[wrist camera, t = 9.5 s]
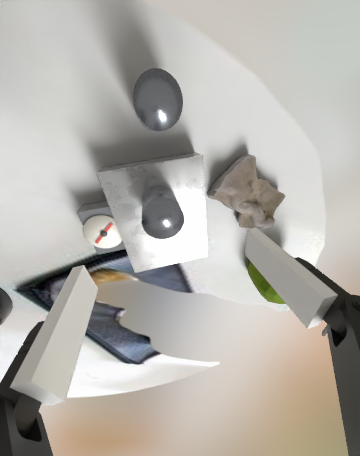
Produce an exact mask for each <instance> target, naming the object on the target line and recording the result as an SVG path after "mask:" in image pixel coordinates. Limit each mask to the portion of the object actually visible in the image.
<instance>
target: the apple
mask: <svg viewBox="0 0 360 456" xmlns="http://www.w3.org/2000/svg"><path fill="white" fill-rule="evenodd" d="M248 274H249V276H250V278H251V280H252V281H253V283H254V285H255V286H256V288H257V289H258V291H259V292H260V294H261V295H262V296H263V297H264V298H265V299H266V300H267V301H268V302H273V303H278V304H286V303H285V302H284V300H283V299H282V298H281V297H280V296H279V295H278V293H277V292H276V291H275V290H274V289H273V287H272V286H271V285H270V284H269V283H268V281H267V280H266V279H265V278H264V277H263V275H262V274H261V273H260V272H259V271H258V270H257V268H256V267H255V266H254V265H253V264H252V262H250V264H249V267H248Z"/></svg>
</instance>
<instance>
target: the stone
mask: <svg viewBox="0 0 360 456" xmlns="http://www.w3.org/2000/svg"><path fill="white" fill-rule="evenodd" d="M208 197H209V198H211V199H216V200H218V201H221V202H222V203H223V204H224V205H225V206H227V207H228V208H231V209H234V210H235V211H237V212H239V216H238V220H237V221H238V223H239V226H240V227H245V228H255V227H257V228H269V227H271V226H272V225H273V224H274V221H275V220H274V218H273V215H274V212H275V210H276V209H277V207H278V206H279V205H280V204H281V202H282V201H283V199H284V198H285V195H284V194H283V193H281V192H279V191H277V189H275V188H274V187H272V186H271V185H270V184H269V182H268V181H267V180H265V179H260V178H258V177H257V173H256V158H255V157H254V156H252V155H249V154H247V155H245V156H243V157H241V158H239V159H237V160H236V161H235V162H234V163H233V164H232V165H231V166H230V167H229V168H228V169H227V171H225V172H224V173H223V174H222V175H221V176H220V177H219V178H218V179H217V180H216V181H215V183H214V184H213V185H212V187H211V189H210V191H209V192H208Z"/></svg>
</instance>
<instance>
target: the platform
mask: <svg viewBox="0 0 360 456" xmlns="http://www.w3.org/2000/svg"><path fill="white" fill-rule="evenodd" d="M97 176H98V179H99V181H100V184H101V186H102V189H103V191H104V194H105V197H106V199H107V202H108V204H109V207H110V209H111V212H112V215H113V217H114V220H115V222H116V225H117V228H118V230H119V233H120V235H121V238H122V240H123V243H124V246H125V248H126V251H127V253H128V256H129V259H130V261H131V264H132V266H133V269H134V271H135V273H137V272H141V271H145V270H150V269H154V268H158V267H162V266H167V265H171V264H175V263H180V262H184V261H188V260H192V259H197V258H201V257H205V256H208V254H207V232H206V210H205V189H204V167H203V155H197V156H191V157H185V158H179V159H173V160H167V161H161V162H155V163H149V164H143V165H137V166H131V167H124V168H118V169H112V170H106V171H100V172H97ZM154 186H165V187H167V188H169V189H170V190H172V191H173V193H174V194H175V196H176V199H177V201H178V203H179V205H180V207H181V209H182V211H183V213H184V217H185V221H184V225H183V228H182V229H181V231H180V232H179V233H178V234H177V235H175V236H173V237H171V238H168V239H156V238H153V237H151V236H149V235H148V234H147V233H146V232H145V231H144V229H143V227H142V199H143V196H144V194H145V192H146V191H147V190H148V189H150V188H151V187H154Z"/></svg>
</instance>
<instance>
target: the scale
mask: <svg viewBox="0 0 360 456" xmlns="http://www.w3.org/2000/svg"><path fill="white" fill-rule="evenodd" d="M197 155H200V154H198V153H188V154H182V155H176V156H170V157H164V158H158V159H152V160H146V161H140V162H134V163H127V164H121V165H115V166H109V167H103V168H102V169H101V170H100V171H106V170H112V169H118V168H124V167H131V166H137V165H143V164H149V163H155V162H161V161H167V160H173V159H179V158H185V157H191V156H197ZM100 171H99V172H100ZM77 214H78V216H79V218H80V220H81V222H82V224H83V235H84V237H85V239H86V240H87V241H88V242H89V243H90V244H92V245H93V246H94V247H95V249H96V251H97V253H98V254H103V253H108V252H112V251H117V250H122V249H126V248H125V246H124V243H123V240H122V238H121V235H120V233H119V230H118V228H117V225H116V222H115V220H114V217H113V215H112V212H111V209H110V207H109V204H108V202H107V201H102V202H97V203H91V204H86V205H83V206H82V207H81V208H80V209H79V211H78V212H77Z"/></svg>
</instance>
